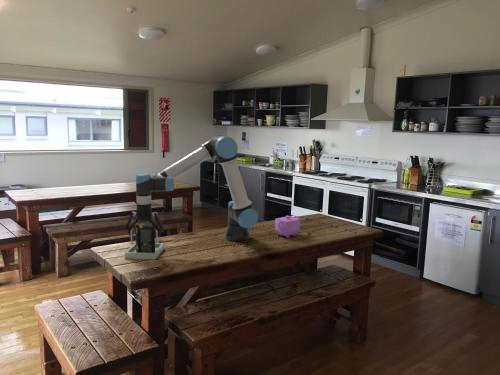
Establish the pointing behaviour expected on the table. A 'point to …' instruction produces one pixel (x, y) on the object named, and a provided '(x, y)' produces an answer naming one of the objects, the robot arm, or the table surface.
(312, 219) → the table surface
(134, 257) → the tray
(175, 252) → the table surface
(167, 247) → the table surface
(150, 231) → the tampon box
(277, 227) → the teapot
